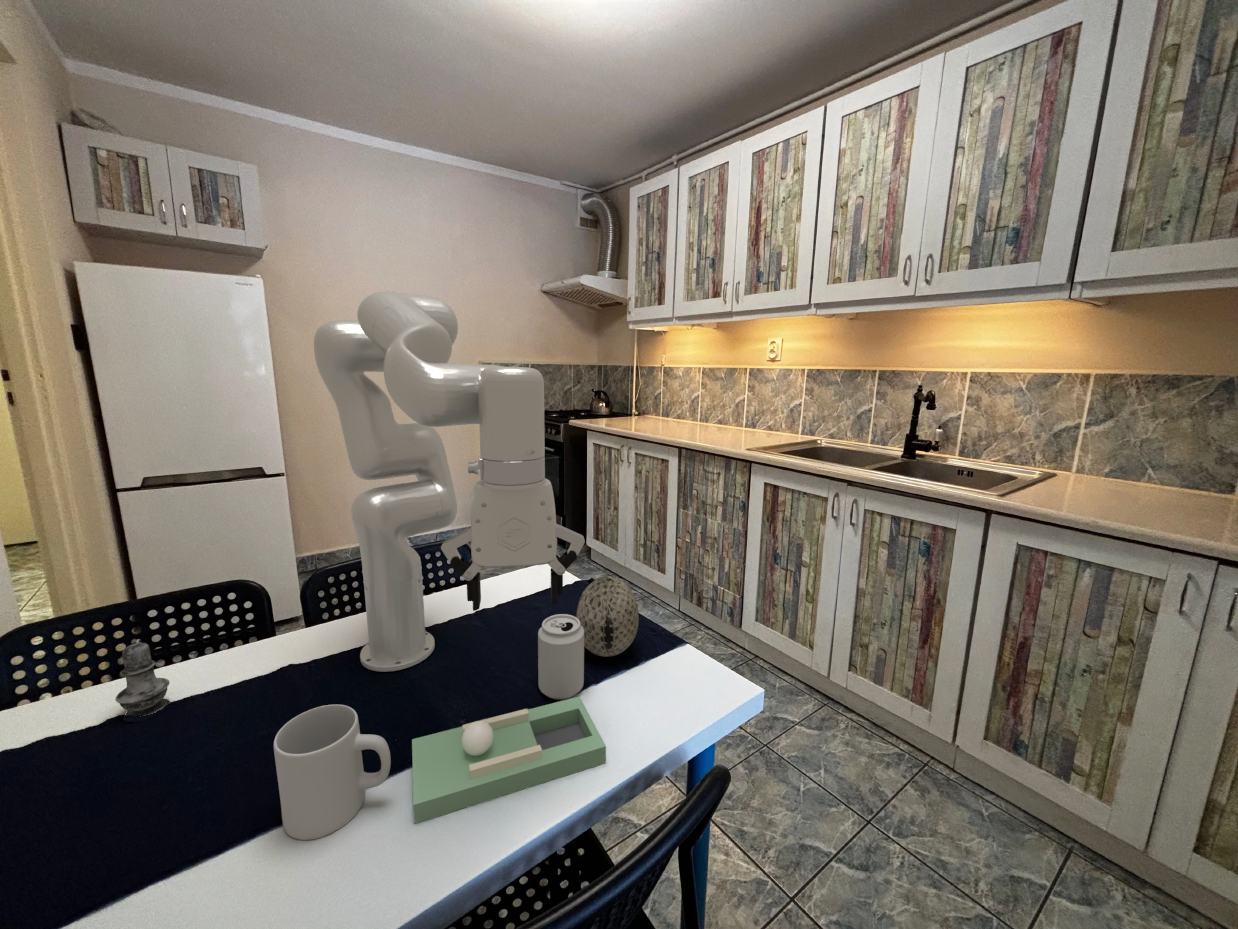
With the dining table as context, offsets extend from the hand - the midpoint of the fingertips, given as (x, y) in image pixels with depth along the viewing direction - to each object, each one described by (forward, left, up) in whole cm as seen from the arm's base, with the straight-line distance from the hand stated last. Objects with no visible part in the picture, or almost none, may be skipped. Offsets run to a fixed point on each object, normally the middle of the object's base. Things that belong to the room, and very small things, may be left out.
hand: (516, 602), depth 62 cm
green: (-1, -1, -23) cm, 23 cm away
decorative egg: (-20, +21, -23) cm, 37 cm away
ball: (-1, -5, -18) cm, 19 cm away
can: (-13, +10, -23) cm, 28 cm away
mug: (-1, -21, -23) cm, 32 cm away
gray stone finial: (-31, -50, -23) cm, 63 cm away
